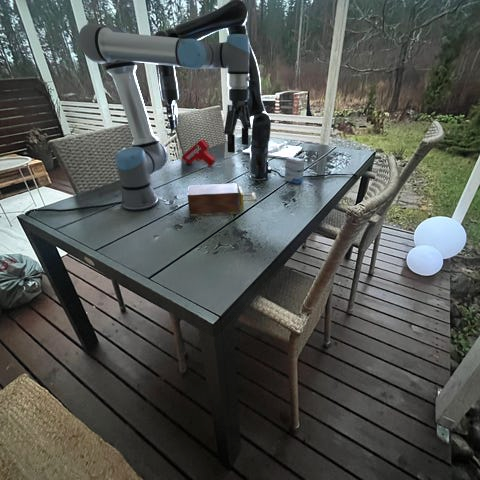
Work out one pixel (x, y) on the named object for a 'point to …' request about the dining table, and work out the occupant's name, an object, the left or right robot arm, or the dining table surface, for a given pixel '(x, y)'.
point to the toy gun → (199, 153)
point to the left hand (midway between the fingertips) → (238, 148)
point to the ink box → (294, 170)
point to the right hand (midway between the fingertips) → (174, 127)
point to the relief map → (280, 150)
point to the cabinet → (213, 199)
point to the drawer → (245, 199)
